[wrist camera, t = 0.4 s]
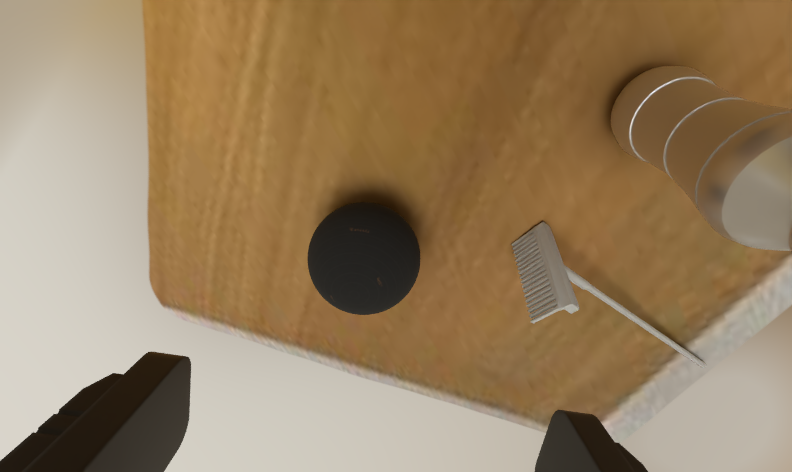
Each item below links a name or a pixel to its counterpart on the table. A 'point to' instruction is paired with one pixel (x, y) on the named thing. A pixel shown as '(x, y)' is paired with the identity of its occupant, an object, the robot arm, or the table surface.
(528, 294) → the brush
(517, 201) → the table surface
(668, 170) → the plastic bottle
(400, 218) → the speaker
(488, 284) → the table surface
